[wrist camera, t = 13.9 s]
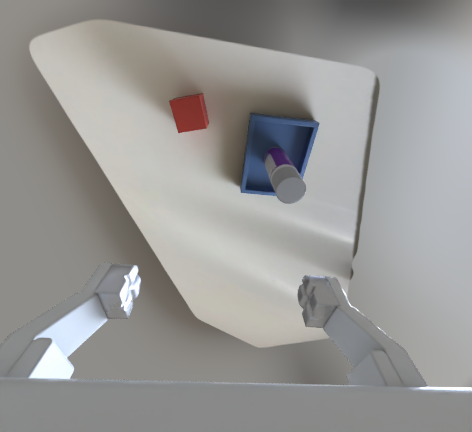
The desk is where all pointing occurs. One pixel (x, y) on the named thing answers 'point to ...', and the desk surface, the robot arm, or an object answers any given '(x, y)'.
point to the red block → (189, 113)
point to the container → (283, 176)
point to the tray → (275, 135)
